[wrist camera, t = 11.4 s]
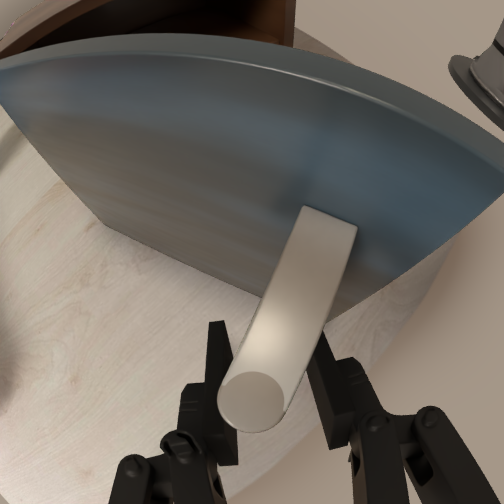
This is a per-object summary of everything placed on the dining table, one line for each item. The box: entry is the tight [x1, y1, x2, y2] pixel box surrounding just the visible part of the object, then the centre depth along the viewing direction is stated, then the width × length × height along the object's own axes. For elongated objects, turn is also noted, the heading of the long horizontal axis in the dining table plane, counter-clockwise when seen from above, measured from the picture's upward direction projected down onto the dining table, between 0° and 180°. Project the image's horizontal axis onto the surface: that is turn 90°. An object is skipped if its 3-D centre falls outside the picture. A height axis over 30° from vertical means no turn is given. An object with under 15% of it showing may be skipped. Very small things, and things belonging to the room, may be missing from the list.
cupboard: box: [0, 0, 296, 60], centre depth 19 cm, size 15×20×18 cm
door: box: [0, 33, 504, 433], centre depth 12 cm, size 7×20×18 cm, turn 66°
